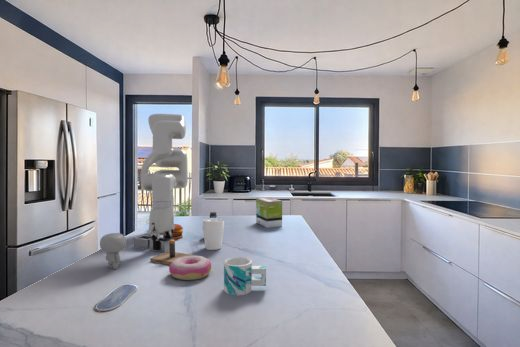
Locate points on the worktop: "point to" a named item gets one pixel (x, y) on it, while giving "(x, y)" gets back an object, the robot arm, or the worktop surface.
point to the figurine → (113, 248)
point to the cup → (213, 233)
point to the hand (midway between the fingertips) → (162, 247)
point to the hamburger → (176, 232)
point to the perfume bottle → (213, 215)
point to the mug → (242, 276)
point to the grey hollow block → (142, 242)
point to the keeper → (168, 255)
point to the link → (162, 244)
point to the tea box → (269, 212)
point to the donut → (190, 267)
